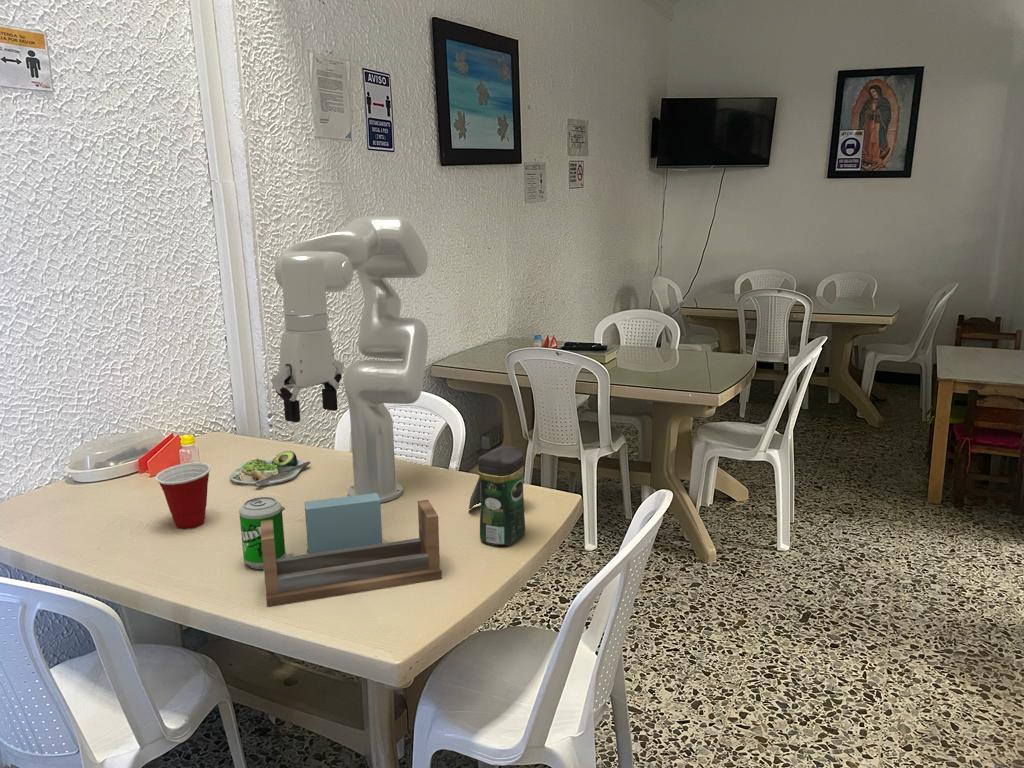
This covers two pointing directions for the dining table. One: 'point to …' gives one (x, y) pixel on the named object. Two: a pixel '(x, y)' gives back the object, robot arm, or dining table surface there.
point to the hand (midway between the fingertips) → (312, 415)
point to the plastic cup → (186, 492)
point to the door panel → (343, 522)
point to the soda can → (251, 529)
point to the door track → (352, 565)
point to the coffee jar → (501, 495)
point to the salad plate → (270, 469)
